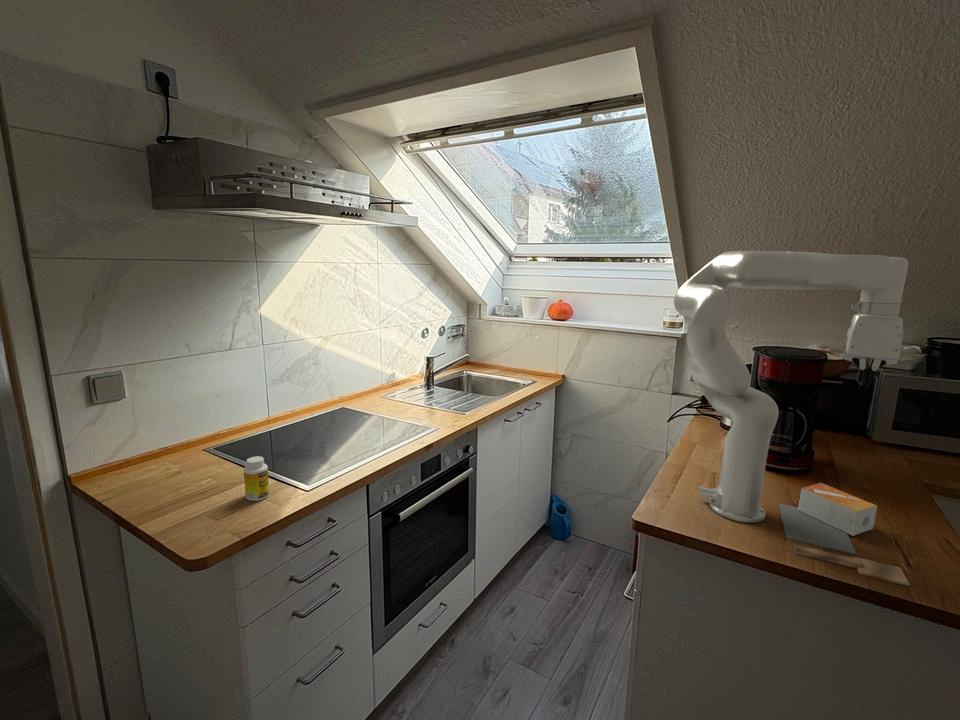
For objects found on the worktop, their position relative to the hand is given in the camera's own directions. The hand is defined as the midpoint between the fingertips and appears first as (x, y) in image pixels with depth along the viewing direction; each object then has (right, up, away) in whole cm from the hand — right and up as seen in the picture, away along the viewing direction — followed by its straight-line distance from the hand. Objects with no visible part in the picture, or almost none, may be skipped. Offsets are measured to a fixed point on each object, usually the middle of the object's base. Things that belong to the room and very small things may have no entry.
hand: (863, 385), depth 119 cm
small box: (-4, -31, -6) cm, 32 cm away
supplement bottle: (-151, -29, +6) cm, 153 cm away
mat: (-14, -34, -2) cm, 37 cm away
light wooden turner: (-16, -37, -16) cm, 43 cm away
